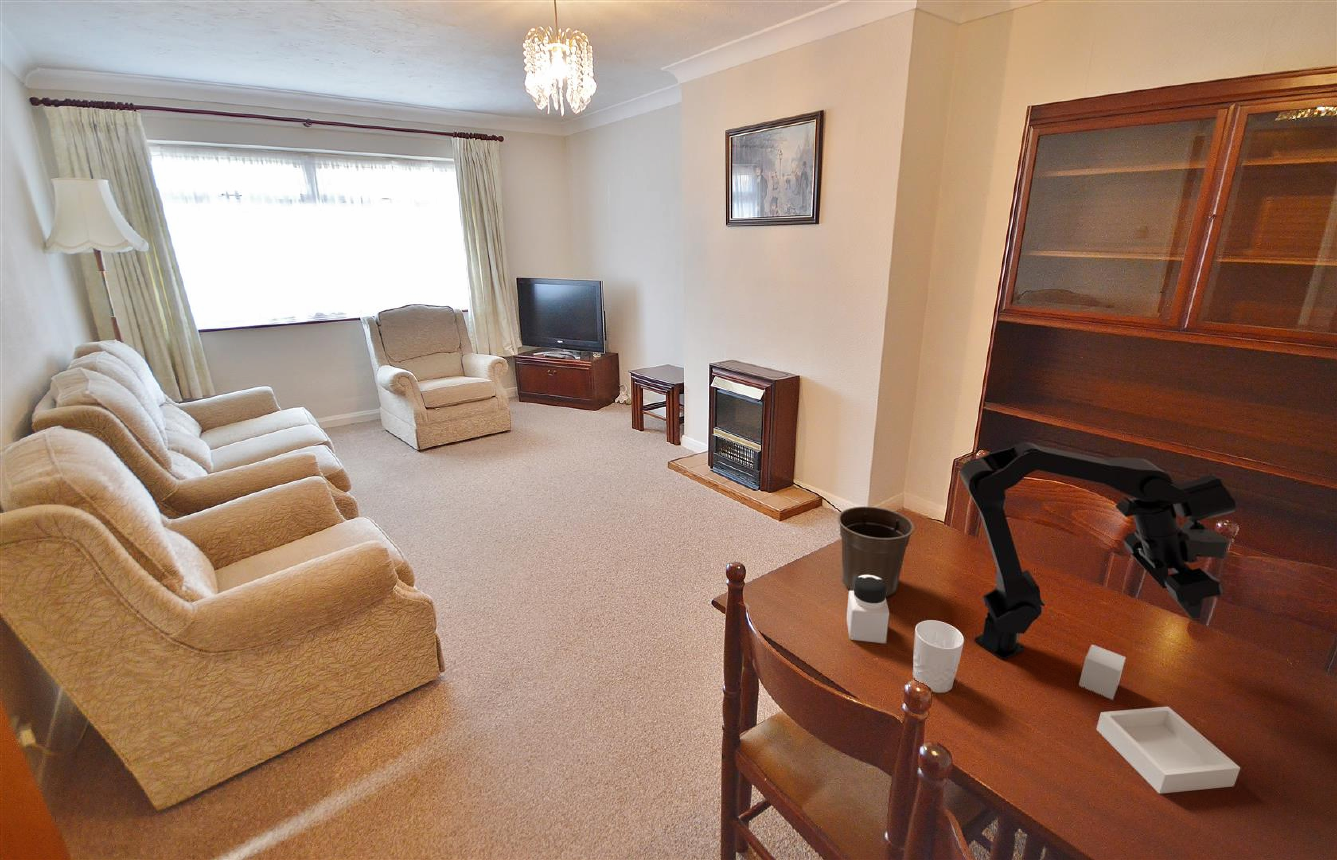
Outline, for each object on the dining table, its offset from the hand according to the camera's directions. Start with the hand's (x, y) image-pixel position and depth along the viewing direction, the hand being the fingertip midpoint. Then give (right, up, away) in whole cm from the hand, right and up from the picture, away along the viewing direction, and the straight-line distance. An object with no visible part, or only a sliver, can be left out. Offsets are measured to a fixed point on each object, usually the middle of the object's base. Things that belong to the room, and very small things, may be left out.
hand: (1180, 602), depth 104 cm
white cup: (-44, -15, +2) cm, 46 cm away
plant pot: (-45, -5, +32) cm, 55 cm away
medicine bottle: (-51, -11, +15) cm, 55 cm away
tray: (-16, -20, -14) cm, 29 cm away
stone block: (-15, -15, 0) cm, 21 cm away
